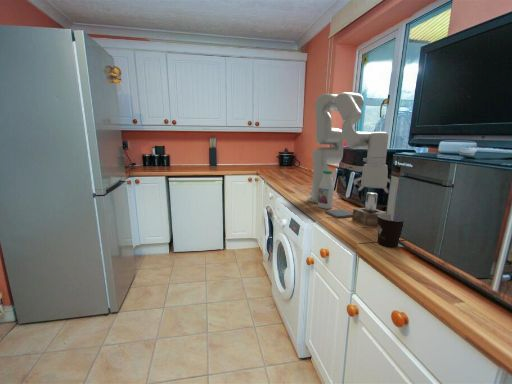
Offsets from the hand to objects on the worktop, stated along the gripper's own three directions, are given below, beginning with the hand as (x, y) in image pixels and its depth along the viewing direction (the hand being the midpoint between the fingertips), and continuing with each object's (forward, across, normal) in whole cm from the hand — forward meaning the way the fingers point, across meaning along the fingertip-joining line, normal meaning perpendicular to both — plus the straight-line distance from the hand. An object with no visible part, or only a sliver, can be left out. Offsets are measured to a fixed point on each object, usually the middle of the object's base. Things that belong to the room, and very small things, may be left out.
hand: (372, 200), depth 115 cm
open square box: (+10, 0, 0) cm, 10 cm away
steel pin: (+10, 0, 0) cm, 10 cm away
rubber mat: (+10, -14, +5) cm, 18 cm away
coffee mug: (+11, +7, -24) cm, 27 cm away
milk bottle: (+10, -23, +16) cm, 30 cm away
